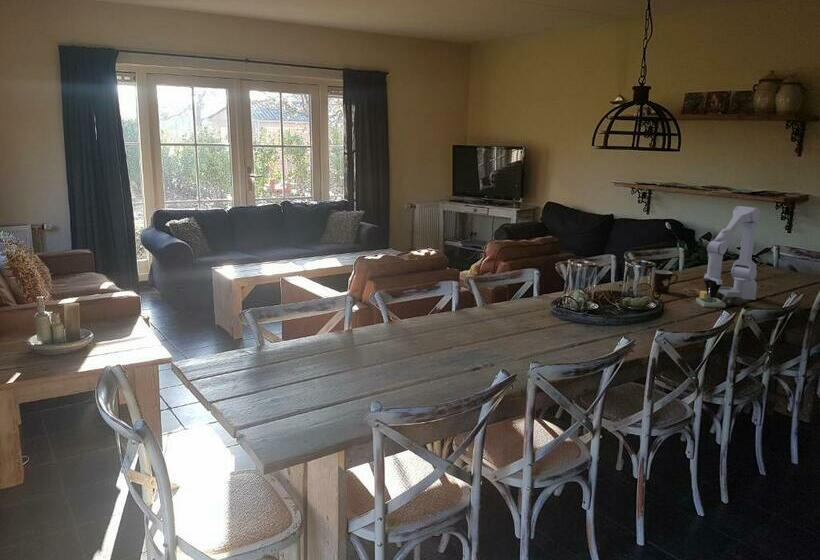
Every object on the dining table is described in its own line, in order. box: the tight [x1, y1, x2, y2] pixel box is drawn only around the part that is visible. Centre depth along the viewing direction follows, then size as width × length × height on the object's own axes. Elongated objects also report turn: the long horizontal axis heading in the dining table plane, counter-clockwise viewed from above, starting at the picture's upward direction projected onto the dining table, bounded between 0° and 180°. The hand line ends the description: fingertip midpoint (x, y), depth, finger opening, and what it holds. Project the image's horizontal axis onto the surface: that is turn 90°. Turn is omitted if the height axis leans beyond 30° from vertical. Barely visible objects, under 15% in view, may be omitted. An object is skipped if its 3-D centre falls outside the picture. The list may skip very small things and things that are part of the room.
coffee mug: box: [653, 269, 679, 294], centre depth 323 cm, size 12×9×10 cm
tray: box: [695, 297, 727, 309], centre depth 300 cm, size 10×10×2 cm
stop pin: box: [707, 287, 713, 303], centre depth 299 cm, size 3×3×7 cm
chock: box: [698, 290, 708, 298], centre depth 308 cm, size 5×5×4 cm
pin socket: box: [682, 288, 701, 298], centre depth 319 cm, size 7×7×2 cm
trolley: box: [715, 286, 744, 307], centre depth 304 cm, size 9×12×6 cm
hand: (711, 296), depth 299 cm, fingers closed on stop pin, 3 cm apart
